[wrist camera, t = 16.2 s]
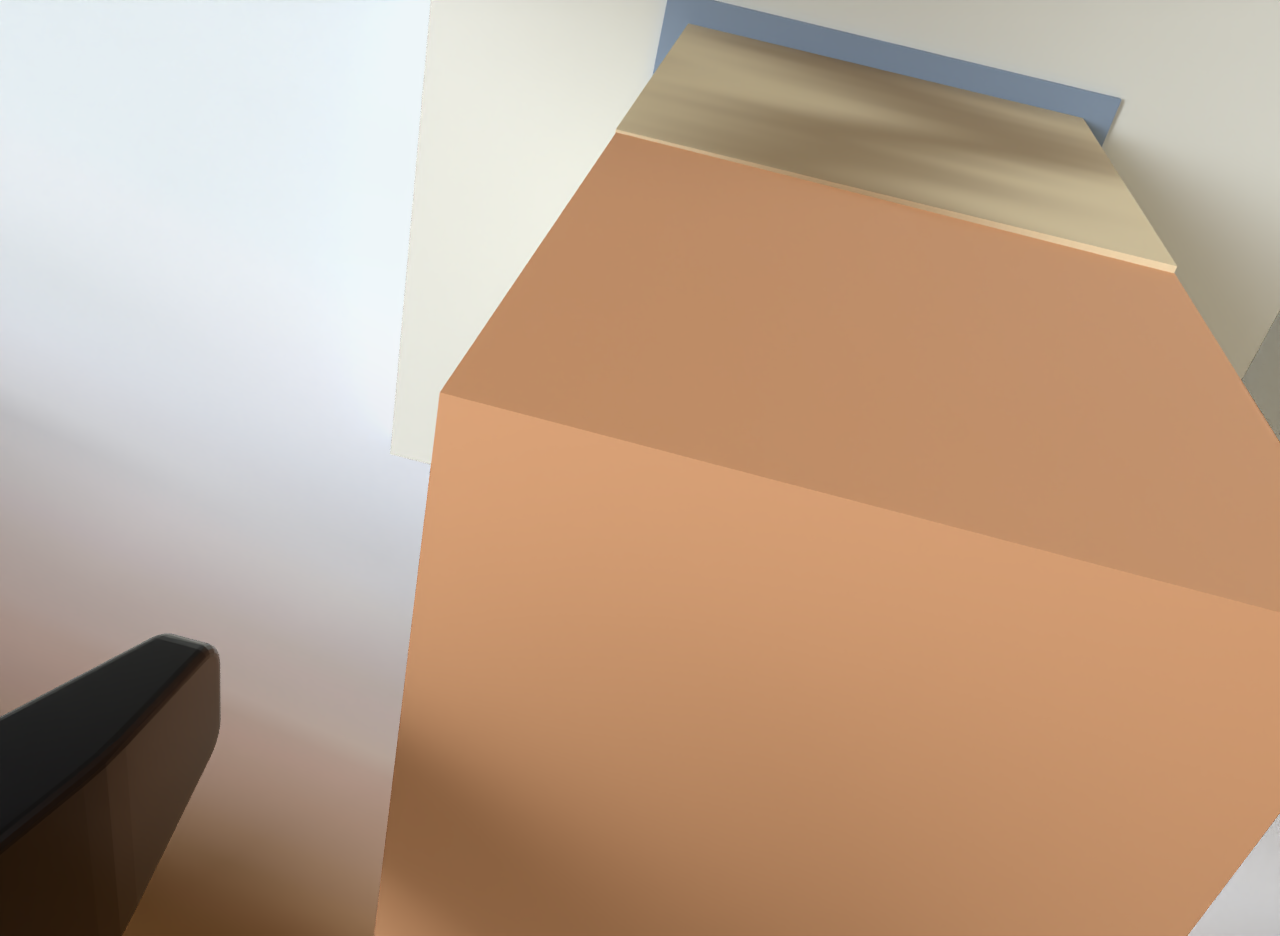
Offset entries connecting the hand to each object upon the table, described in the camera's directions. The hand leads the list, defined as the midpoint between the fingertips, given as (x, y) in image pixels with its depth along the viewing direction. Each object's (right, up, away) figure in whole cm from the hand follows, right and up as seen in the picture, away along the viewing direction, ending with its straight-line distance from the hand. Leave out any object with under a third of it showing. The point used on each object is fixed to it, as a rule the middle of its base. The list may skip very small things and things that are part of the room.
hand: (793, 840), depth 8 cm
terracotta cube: (+1, +3, +5) cm, 6 cm away
